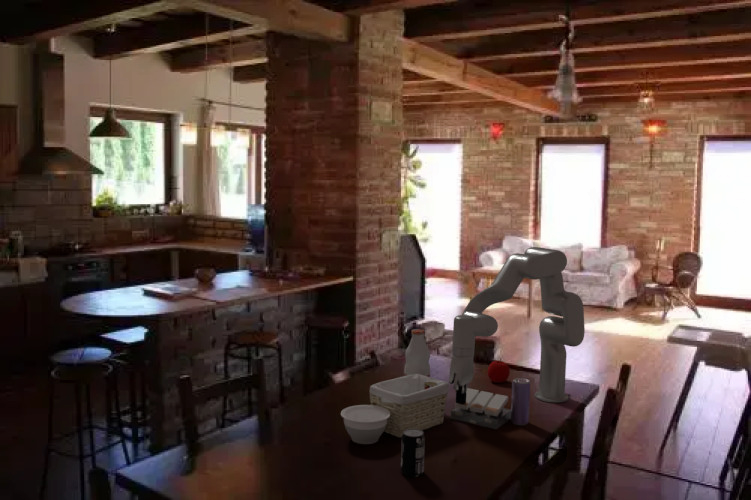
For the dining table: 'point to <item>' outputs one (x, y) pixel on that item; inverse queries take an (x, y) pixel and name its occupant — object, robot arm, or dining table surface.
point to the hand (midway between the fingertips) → (460, 403)
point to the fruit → (498, 371)
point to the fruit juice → (417, 355)
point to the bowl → (365, 422)
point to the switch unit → (481, 417)
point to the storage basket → (410, 402)
